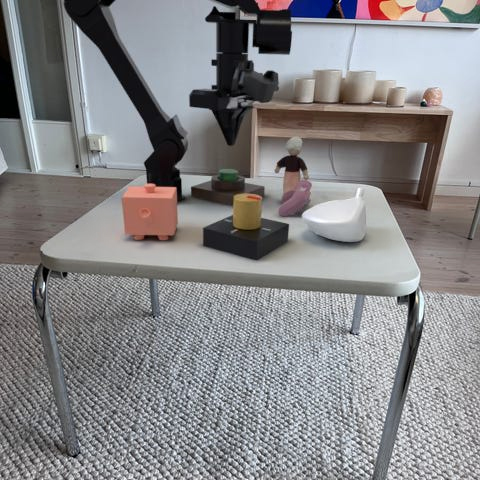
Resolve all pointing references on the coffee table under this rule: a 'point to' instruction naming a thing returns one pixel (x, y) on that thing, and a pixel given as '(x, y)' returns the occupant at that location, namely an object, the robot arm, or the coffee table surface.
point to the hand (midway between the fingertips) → (230, 145)
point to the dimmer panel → (245, 237)
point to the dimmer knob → (247, 211)
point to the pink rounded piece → (296, 198)
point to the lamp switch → (228, 174)
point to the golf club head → (339, 218)
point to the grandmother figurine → (292, 165)
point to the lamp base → (225, 190)
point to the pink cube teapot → (150, 211)
